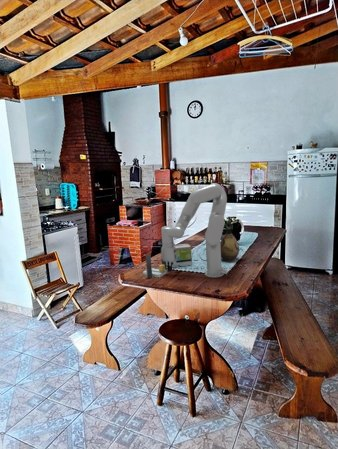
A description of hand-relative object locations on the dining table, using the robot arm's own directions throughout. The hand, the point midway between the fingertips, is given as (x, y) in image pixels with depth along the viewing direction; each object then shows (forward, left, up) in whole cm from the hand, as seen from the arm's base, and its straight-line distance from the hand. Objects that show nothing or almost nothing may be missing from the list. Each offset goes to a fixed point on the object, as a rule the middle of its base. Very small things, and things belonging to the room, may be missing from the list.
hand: (170, 270), depth 206 cm
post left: (+10, +9, -3) cm, 14 cm away
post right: (+10, -9, -3) cm, 14 cm away
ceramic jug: (-24, -45, -3) cm, 51 cm away
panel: (+11, +2, -3) cm, 12 cm away
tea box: (+4, -21, -3) cm, 22 cm away
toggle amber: (+6, 0, -1) cm, 7 cm away
